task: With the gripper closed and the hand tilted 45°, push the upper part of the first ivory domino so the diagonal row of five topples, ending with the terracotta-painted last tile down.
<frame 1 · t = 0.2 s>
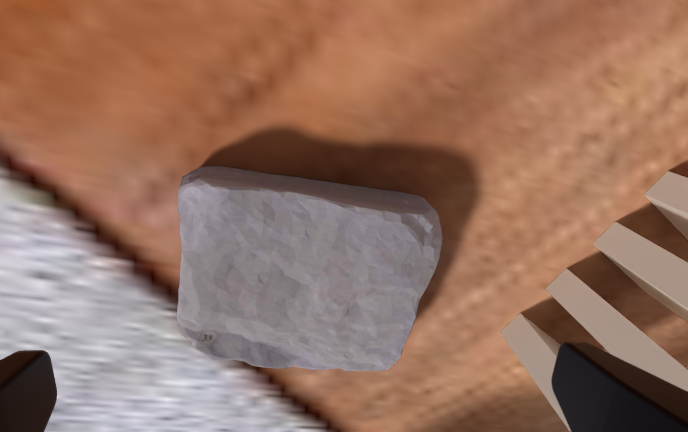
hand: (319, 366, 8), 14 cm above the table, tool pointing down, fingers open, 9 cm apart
domino 2: (583, 302, 26), on the table
domino 3: (630, 258, 25), on the table
stone block: (302, 263, 24), on the table
domino 1: (537, 344, 27), on the table
domino 4: (681, 210, 24), on the table
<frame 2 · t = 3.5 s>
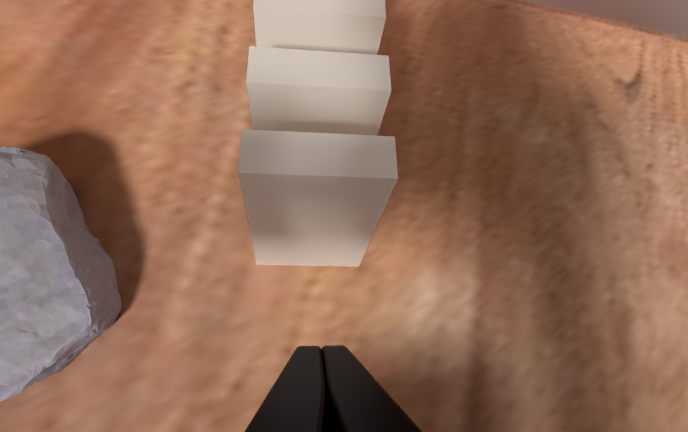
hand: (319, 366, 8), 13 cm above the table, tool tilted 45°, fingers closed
domino 2: (309, 187, 24), on the table
domino 3: (310, 132, 26), on the table
domino 1: (308, 250, 23), on the table
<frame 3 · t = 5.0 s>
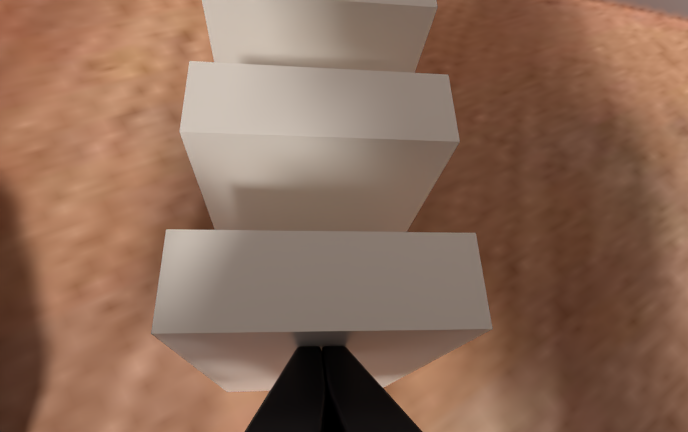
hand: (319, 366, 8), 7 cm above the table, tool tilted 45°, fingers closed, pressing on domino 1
domino 2: (306, 262, 17), on the table
domino 3: (306, 179, 18), on the table
domino 1: (306, 363, 15), on the table, touching gripper
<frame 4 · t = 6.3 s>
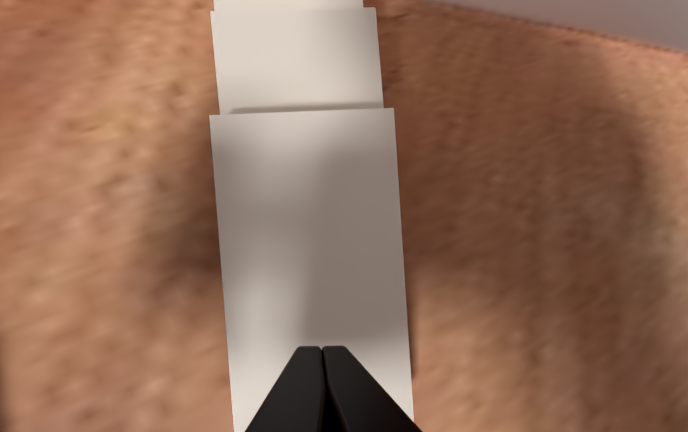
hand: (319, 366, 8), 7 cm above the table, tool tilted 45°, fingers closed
domino 2: (318, 297, 15), point 1 cm above the table, tilted 64°, touching domino 1, domino 3
domino 3: (307, 199, 16), point 1 cm above the table, tilted 64°, touching domino 2
domino 1: (324, 423, 14), point 1 cm above the table, tilted 64°, touching domino 2
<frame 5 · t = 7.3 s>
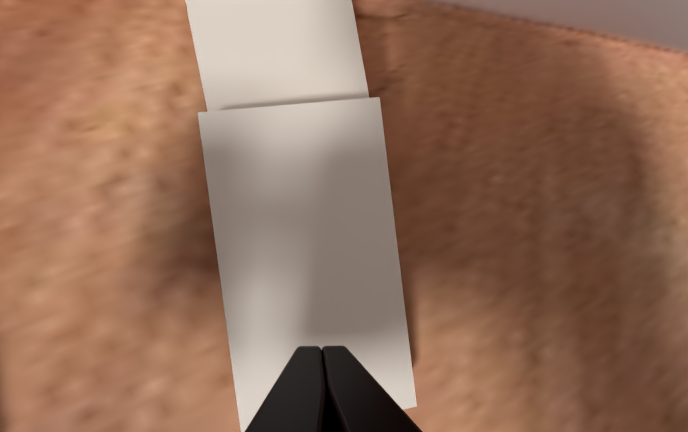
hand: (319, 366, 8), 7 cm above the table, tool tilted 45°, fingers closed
domino 2: (322, 283, 15), point 1 cm above the table, tilted 64°, touching domino 1, domino 3
domino 3: (303, 182, 17), point 1 cm above the table, tilted 64°, touching domino 2
domino 1: (328, 412, 14), point 1 cm above the table, tilted 64°, touching domino 2
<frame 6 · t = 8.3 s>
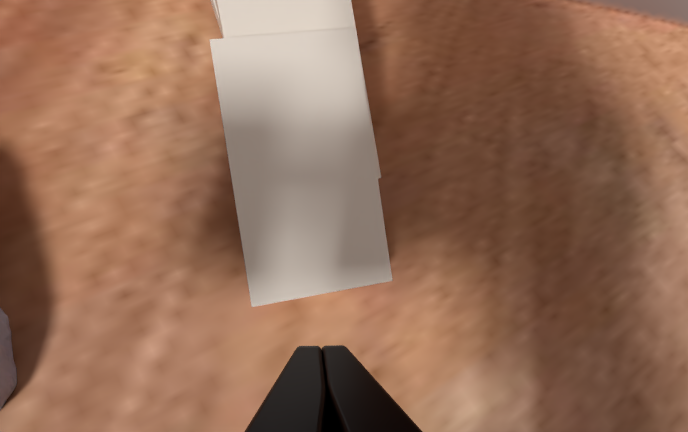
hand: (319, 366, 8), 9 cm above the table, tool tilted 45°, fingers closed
domino 2: (316, 189, 18), point 1 cm above the table, tilted 65°, touching domino 1, domino 3
domino 1: (320, 289, 17), point 1 cm above the table, tilted 65°, touching domino 2
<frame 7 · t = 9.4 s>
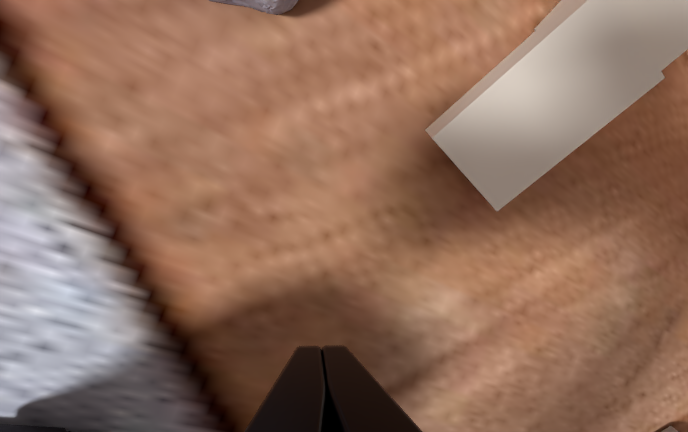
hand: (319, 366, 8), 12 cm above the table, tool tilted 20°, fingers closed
domino 2: (520, 119, 23), point 1 cm above the table, tilted 65°, touching domino 1, domino 3
domino 1: (460, 171, 22), point 1 cm above the table, tilted 66°, touching domino 2
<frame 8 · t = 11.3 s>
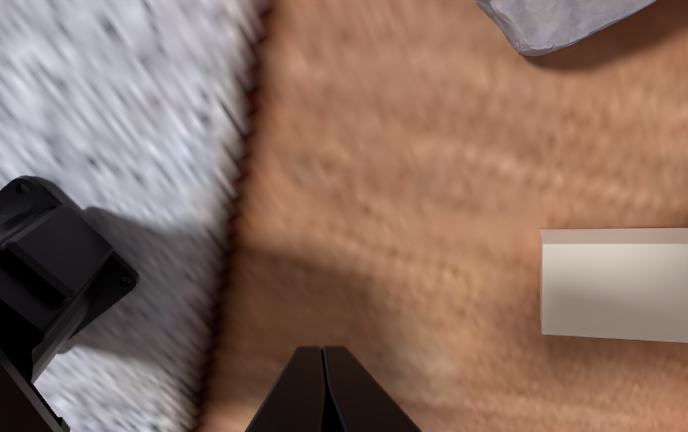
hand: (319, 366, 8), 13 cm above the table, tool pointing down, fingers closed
domino 1: (540, 282, 23), point 1 cm above the table, tilted 66°, touching domino 2
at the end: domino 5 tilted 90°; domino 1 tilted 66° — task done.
